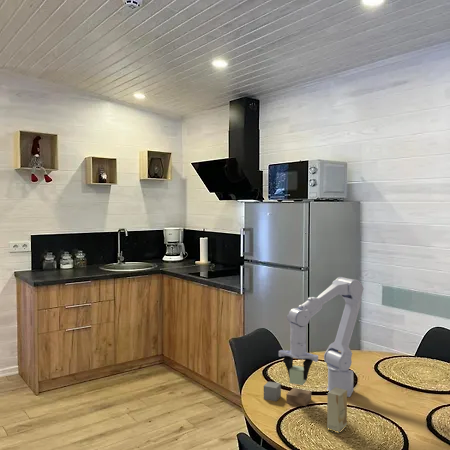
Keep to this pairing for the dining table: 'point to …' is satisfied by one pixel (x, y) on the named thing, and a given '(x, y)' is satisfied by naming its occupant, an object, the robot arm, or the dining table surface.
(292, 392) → the walnut block
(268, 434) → the dining table surface
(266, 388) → the grey cube
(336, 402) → the skincare box
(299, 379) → the sage cube
